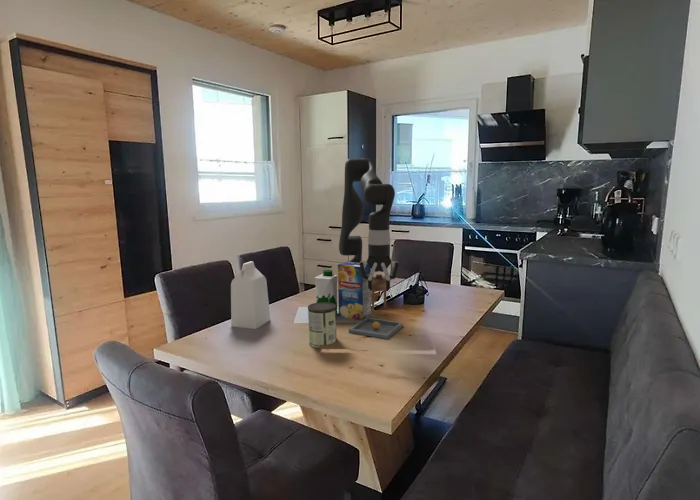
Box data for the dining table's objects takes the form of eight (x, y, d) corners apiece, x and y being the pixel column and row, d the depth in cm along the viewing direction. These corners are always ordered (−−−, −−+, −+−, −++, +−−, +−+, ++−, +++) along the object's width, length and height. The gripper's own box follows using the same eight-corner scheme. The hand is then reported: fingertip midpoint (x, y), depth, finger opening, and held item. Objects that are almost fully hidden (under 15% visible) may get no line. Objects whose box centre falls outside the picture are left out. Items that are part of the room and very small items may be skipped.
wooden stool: (371, 307, 147) (371, 276, 145) (372, 303, 152) (371, 273, 150) (386, 307, 147) (386, 276, 145) (385, 303, 151) (386, 273, 150)
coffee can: (315, 336, 162) (314, 301, 160) (340, 339, 159) (340, 303, 156) (304, 346, 152) (302, 308, 150) (330, 349, 149) (329, 311, 147)
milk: (255, 329, 171) (252, 266, 167) (231, 326, 175) (227, 264, 171) (270, 319, 182) (267, 260, 178) (247, 317, 186) (244, 259, 182)
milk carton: (339, 314, 189) (339, 270, 186) (331, 320, 181) (330, 274, 178) (322, 312, 193) (321, 269, 189) (313, 317, 184) (312, 273, 181)
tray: (348, 335, 163) (348, 329, 162) (366, 323, 177) (366, 317, 176) (387, 342, 155) (387, 335, 155) (402, 328, 169) (402, 322, 169)
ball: (371, 329, 165) (371, 322, 165) (374, 327, 168) (374, 320, 167) (378, 330, 164) (378, 323, 163) (381, 328, 167) (381, 321, 166)
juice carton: (338, 319, 182) (337, 264, 179) (347, 314, 189) (346, 261, 185) (362, 323, 176) (362, 267, 173) (371, 318, 183) (371, 264, 179)
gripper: (357, 244, 142) (358, 293, 145) (400, 244, 141) (400, 293, 144) (358, 241, 150) (359, 287, 152) (399, 241, 149) (399, 287, 152)
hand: (379, 290), depth 148 cm, fingers closed on wooden stool, 5 cm apart
